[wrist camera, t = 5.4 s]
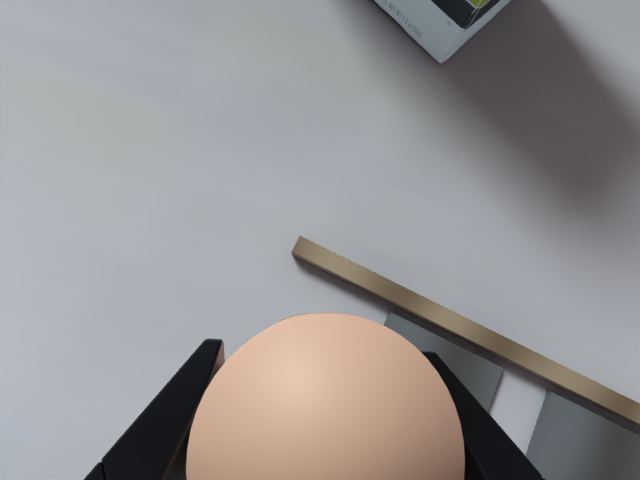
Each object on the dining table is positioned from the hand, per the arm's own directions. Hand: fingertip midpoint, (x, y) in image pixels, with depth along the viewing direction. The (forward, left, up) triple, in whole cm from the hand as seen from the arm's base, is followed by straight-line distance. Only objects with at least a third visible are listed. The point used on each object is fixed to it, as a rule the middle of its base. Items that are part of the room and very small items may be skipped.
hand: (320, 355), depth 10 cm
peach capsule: (-1, -1, -7) cm, 7 cm away
